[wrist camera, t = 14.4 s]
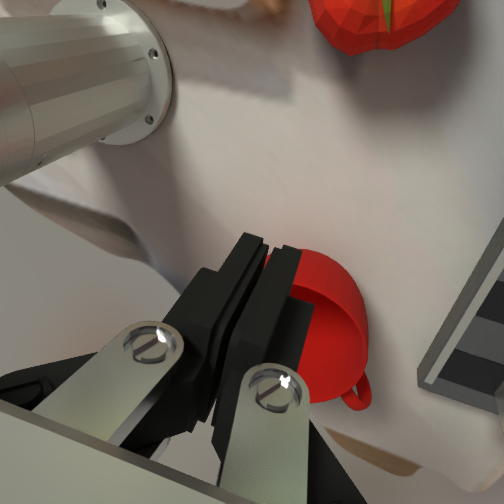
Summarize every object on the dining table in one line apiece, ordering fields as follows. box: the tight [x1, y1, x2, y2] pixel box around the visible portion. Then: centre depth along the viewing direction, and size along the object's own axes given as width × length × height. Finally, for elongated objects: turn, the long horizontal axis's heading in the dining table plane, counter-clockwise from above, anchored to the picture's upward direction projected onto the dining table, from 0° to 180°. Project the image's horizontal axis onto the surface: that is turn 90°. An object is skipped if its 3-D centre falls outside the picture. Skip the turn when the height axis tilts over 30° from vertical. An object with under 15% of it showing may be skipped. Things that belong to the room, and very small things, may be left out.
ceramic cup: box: [264, 249, 372, 411], centre depth 40 cm, size 13×17×10 cm
